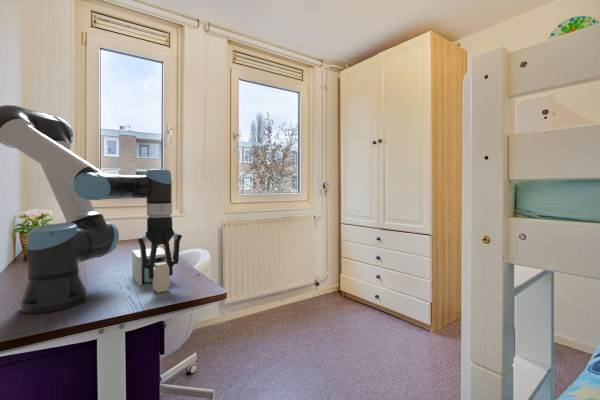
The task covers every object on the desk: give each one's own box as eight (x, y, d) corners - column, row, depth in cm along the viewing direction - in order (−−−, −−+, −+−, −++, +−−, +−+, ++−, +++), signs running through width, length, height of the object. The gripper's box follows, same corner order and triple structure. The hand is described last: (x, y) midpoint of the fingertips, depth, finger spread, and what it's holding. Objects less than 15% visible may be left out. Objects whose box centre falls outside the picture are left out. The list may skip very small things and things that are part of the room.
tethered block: (152, 293, 95) (151, 265, 94) (142, 278, 111) (141, 254, 110) (171, 289, 98) (171, 263, 98) (159, 275, 114) (158, 252, 114)
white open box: (138, 285, 104) (137, 257, 103) (132, 275, 116) (131, 250, 116) (169, 280, 110) (169, 253, 109) (161, 271, 122) (160, 247, 122)
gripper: (133, 218, 89) (134, 295, 90) (188, 215, 99) (189, 284, 100) (129, 216, 95) (131, 288, 96) (182, 214, 105) (183, 279, 105)
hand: (161, 286), depth 98 cm, fingers closed on tethered block, 3 cm apart
